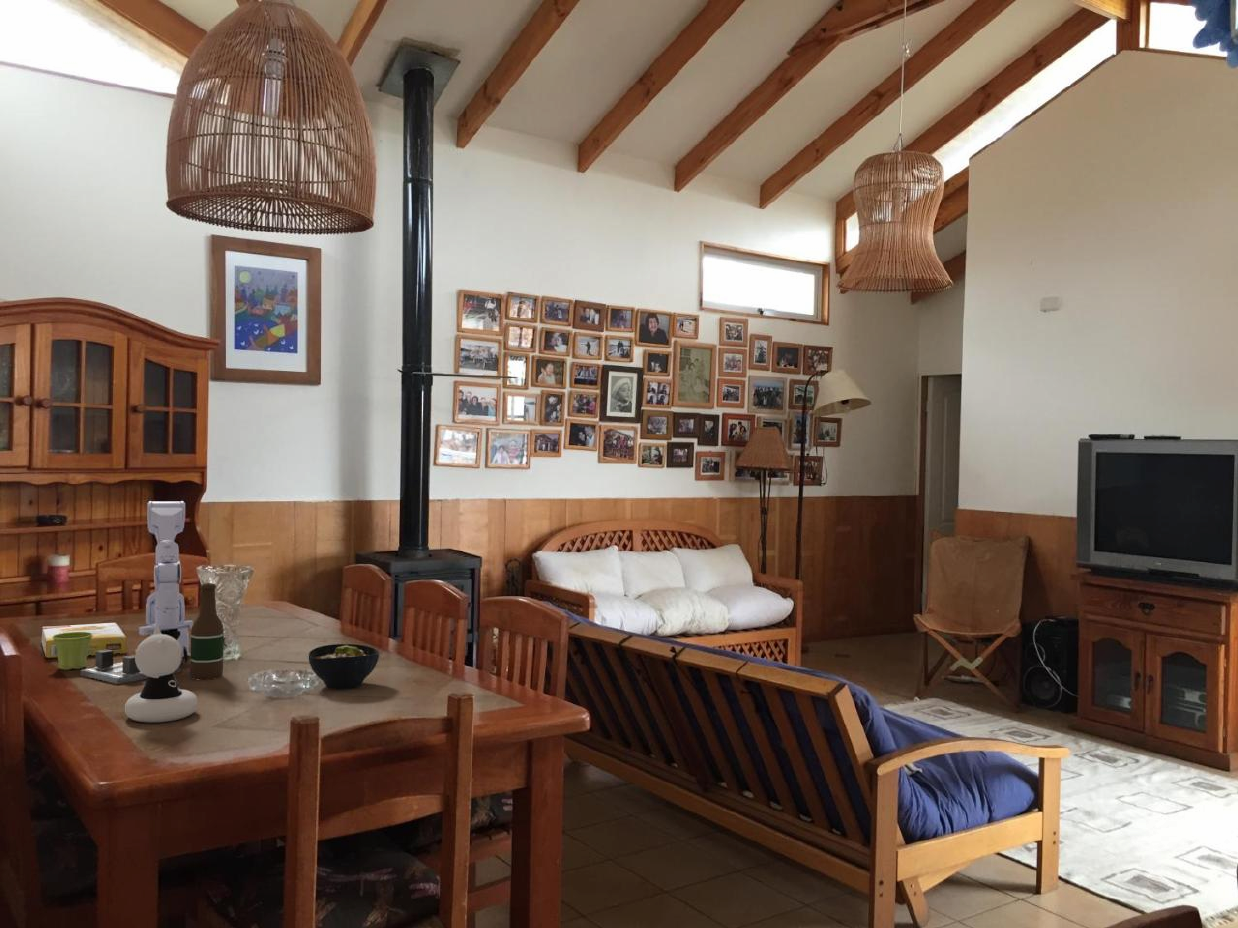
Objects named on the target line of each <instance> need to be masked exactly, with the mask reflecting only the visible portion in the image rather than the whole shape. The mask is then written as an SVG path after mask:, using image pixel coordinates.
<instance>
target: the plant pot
mask: <svg viewBox="0 0 1238 928" xmlns="http://www.w3.org/2000/svg"><path fill="white" fill-rule="evenodd" d="M91 636H93V633H90V632H69V633H62V634H57V635H54V636H52V638H53V639H54V642H55V644H56V649H57V655H58V657H57V660H58V661H57V663H58V668H59V669H60V670H66V671H69V670H71V669H76V670H79V669H80V670H81V669H83V668H85V667H86V666H87V659H88V656H87V654H88V648H89V642H90V640H91Z"/></svg>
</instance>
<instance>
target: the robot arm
mask: <svg viewBox="0 0 1238 928" xmlns="http://www.w3.org/2000/svg"><path fill="white" fill-rule="evenodd" d="M146 506H147V508H146V509H147V514H146V516H147V517H146V520H147V529H148V532H149V533H151V534H152V535H154V536H155V539H156V542H157V545H156V546H155V565H154V567H153V583H154V592H152V593H151V594H150V595H148V596H147V598H146V603H145V604H146V605H145V623H146V626H141V627H140V626H139V627H138V635H139V636H147V635H150V636H153V633H154V630H155V626H156V623H157V624H158V627H159V629H160V632H161V634H164V635H168V636H171V637H173V638H174V639H176V640H177V641H178V643H179V644H180V646H181V648H182V658H185V656H184V654H183V646H184V647H186V648H185V649H187V657H190V656H191V653H190V652H189V650H190V647H189V646H190V634H189V633H190V632H189V629H192V626H193V624H194V620H189V619H188V620H185V616H186V615H185V613H186V612H185V610H186V608H185V597H184V595H183V594H182V593H180V584H181V580H182V566H181V562H180V561H181V560H180V555H179V553H180V552H179V551H180V549H179V545H178V543H176V542H175V540H176V537H177V535H178V534H180V533H183V532H184V528H185V522H186V502H184V500H181V501H177V500H176V501H170V500H169V501H152V500H149V501H148V502H147V504H146Z"/></svg>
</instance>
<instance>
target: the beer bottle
mask: <svg viewBox="0 0 1238 928" xmlns="http://www.w3.org/2000/svg"><path fill="white" fill-rule="evenodd" d="M199 588H200V589H201V591H200V604H199V613H198V615H197V618H195V620H193V626H192V628H191V630H190V631H191V632H190V666H189V667H190V679H193V678H194V679H193V680H196V679H202V680H201V681H208V680H207V679H210V680H215V679H214V678H217V679H219V678H221V677H222V676H223V674H224V673H223V672H224V642H225V641H224V637H225V635H224V633H225V632H224V625H223V622H222V620H221V619H220V617H219V616H218V615H217V613H218V612H217V607H216V605H217V604H216V588H217V585H216V584H215V583H212V582H211V583H209V582H205V583H202V584H201V585H200V587H199Z"/></svg>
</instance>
